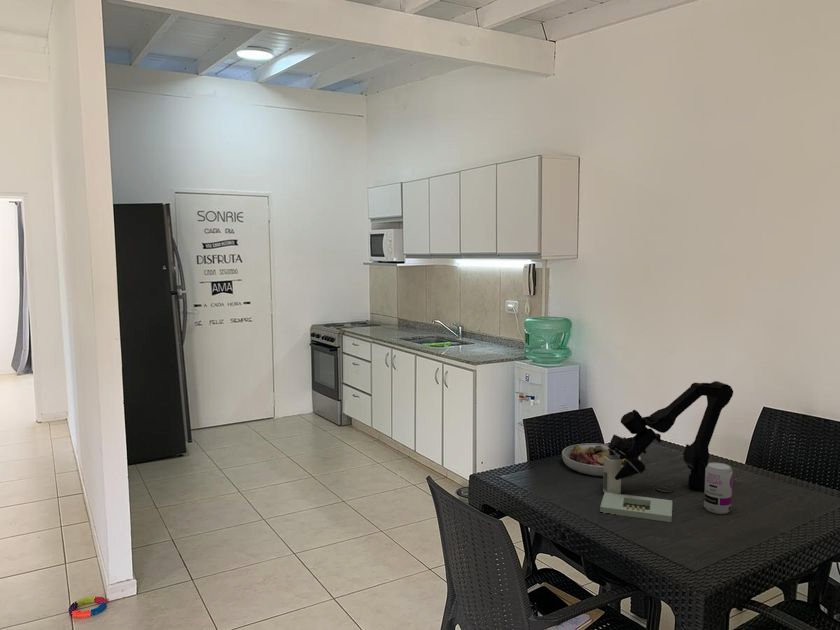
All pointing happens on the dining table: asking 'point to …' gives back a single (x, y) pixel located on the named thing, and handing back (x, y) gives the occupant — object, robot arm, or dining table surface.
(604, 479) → the grey tall block
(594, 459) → the bowl
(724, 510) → the supplement can
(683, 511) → the dining table surface
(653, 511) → the board
